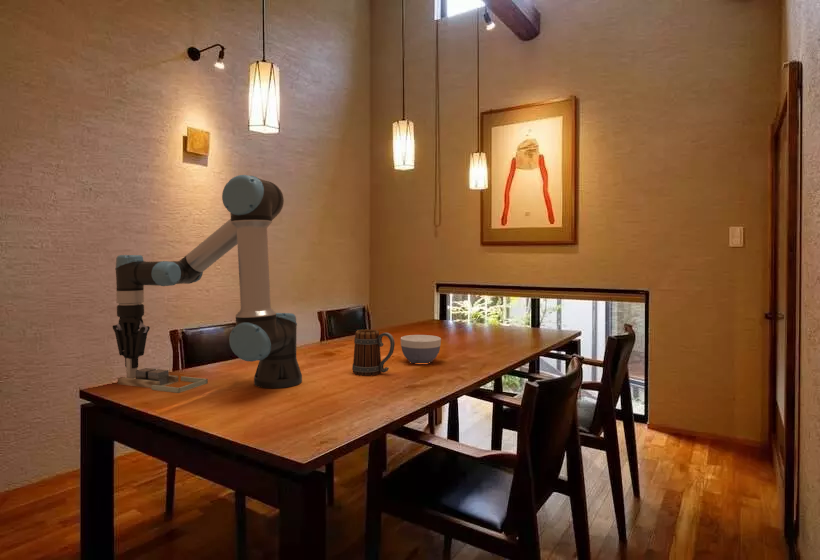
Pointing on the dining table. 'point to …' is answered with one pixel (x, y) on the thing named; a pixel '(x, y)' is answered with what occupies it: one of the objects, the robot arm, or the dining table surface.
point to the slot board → (145, 381)
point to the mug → (370, 352)
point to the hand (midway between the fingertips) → (132, 378)
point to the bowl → (420, 348)
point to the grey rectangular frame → (177, 390)
